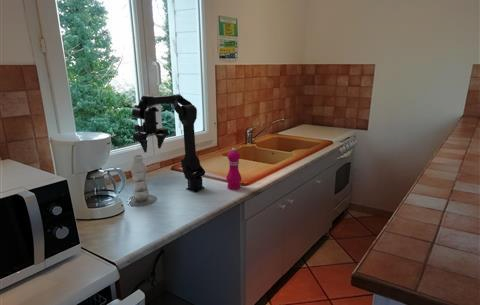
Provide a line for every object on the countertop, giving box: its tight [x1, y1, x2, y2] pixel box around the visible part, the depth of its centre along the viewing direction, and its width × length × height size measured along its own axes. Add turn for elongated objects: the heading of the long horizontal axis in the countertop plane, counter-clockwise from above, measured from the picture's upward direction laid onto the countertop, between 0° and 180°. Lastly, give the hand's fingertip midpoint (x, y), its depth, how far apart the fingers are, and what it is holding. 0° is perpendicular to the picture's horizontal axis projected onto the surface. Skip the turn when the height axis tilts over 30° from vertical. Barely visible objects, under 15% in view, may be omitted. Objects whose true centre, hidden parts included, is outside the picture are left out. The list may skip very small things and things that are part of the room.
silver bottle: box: [130, 154, 150, 201], centre depth 137 cm, size 6×7×20 cm
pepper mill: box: [225, 147, 242, 191], centre depth 152 cm, size 7×7×20 cm
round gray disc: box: [127, 193, 158, 208], centre depth 140 cm, size 13×13×1 cm
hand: (152, 150), depth 163 cm, fingers open, 9 cm apart
